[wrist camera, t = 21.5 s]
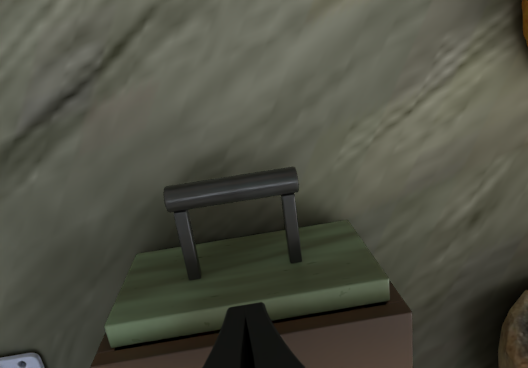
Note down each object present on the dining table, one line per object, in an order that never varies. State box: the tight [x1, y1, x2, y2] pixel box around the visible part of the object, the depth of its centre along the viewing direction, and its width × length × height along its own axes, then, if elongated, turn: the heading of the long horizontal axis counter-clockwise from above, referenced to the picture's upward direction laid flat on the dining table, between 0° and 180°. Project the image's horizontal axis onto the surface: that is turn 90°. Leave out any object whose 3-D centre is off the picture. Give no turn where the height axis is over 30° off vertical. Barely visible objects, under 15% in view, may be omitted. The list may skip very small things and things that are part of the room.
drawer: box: [104, 167, 390, 348], centre depth 21 cm, size 17×12×6 cm
